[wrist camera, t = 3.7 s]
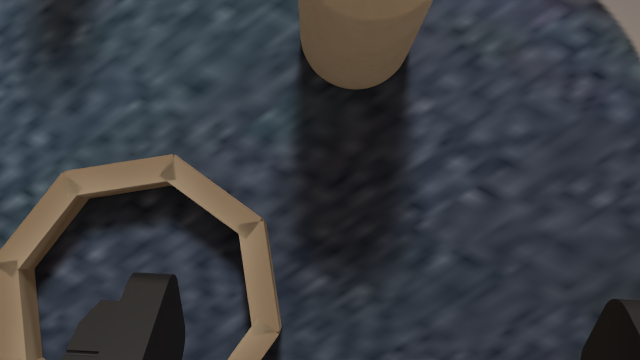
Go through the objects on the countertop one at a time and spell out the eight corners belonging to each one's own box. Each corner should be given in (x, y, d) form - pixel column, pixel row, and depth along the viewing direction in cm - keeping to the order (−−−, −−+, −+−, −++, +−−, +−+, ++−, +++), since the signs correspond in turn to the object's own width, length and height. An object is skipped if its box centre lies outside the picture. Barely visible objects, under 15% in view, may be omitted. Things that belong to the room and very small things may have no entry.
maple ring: (25, 454, 26) (7, 466, 24) (1, 187, 27) (-17, 183, 26) (293, 407, 26) (292, 416, 24) (254, 148, 28) (251, 141, 26)
